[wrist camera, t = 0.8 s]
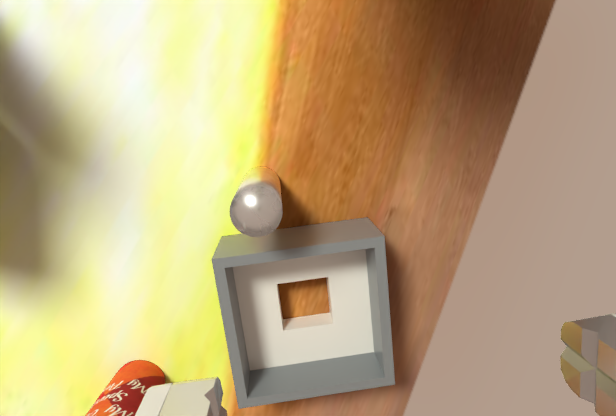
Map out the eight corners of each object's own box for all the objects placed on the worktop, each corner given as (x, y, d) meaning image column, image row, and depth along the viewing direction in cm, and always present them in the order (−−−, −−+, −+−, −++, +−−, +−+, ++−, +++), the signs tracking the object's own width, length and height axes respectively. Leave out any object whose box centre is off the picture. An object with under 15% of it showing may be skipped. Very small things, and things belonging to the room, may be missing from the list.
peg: (239, 168, 42) (225, 189, 30) (277, 164, 42) (278, 183, 30) (245, 206, 42) (234, 240, 31) (282, 201, 43) (285, 233, 31)
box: (221, 236, 43) (211, 259, 36) (367, 217, 44) (384, 236, 37) (244, 365, 47) (238, 408, 40) (377, 346, 48) (395, 384, 41)
